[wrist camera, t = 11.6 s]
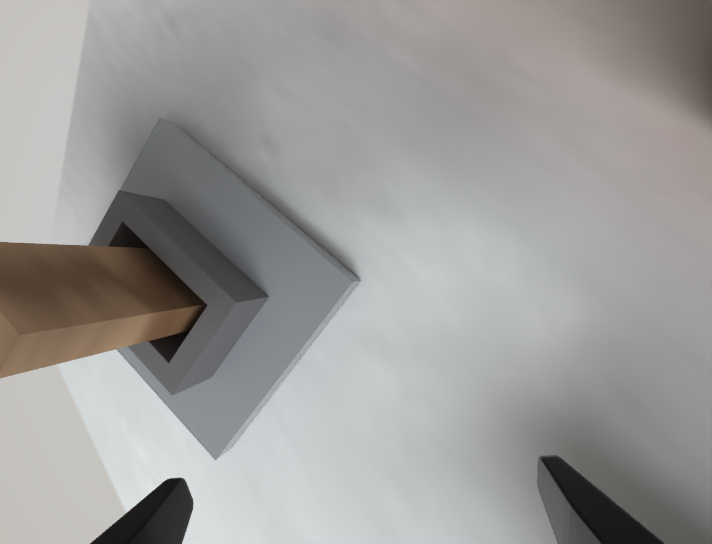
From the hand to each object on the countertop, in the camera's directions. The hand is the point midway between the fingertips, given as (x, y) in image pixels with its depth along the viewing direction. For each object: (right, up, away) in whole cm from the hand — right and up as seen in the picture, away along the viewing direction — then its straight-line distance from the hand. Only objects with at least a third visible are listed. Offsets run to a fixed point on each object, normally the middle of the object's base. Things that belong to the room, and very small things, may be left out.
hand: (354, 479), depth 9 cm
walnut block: (-10, +4, +13) cm, 17 cm away
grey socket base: (-10, +4, +14) cm, 18 cm away
